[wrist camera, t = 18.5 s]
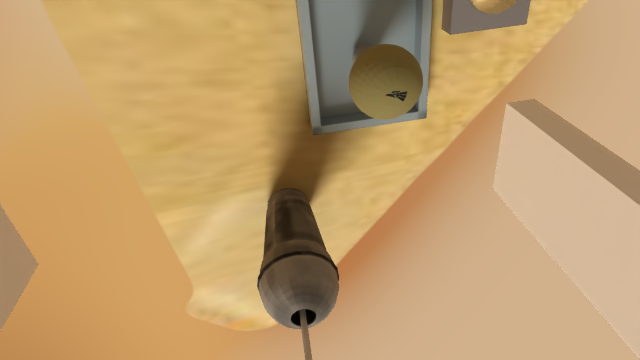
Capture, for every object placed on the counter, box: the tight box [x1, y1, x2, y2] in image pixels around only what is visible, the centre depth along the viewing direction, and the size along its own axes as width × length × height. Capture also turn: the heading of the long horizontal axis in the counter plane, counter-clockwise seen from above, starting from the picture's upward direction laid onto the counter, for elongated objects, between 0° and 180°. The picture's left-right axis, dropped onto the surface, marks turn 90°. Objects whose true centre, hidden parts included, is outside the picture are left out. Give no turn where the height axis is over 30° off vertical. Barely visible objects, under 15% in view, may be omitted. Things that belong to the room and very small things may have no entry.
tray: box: [296, 0, 432, 135], centre depth 38 cm, size 13×11×2 cm
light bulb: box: [349, 44, 423, 120], centre depth 34 cm, size 6×6×10 cm
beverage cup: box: [257, 189, 339, 360], centre depth 39 cm, size 7×7×20 cm
